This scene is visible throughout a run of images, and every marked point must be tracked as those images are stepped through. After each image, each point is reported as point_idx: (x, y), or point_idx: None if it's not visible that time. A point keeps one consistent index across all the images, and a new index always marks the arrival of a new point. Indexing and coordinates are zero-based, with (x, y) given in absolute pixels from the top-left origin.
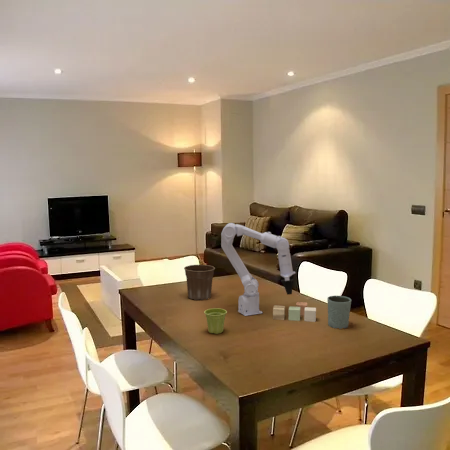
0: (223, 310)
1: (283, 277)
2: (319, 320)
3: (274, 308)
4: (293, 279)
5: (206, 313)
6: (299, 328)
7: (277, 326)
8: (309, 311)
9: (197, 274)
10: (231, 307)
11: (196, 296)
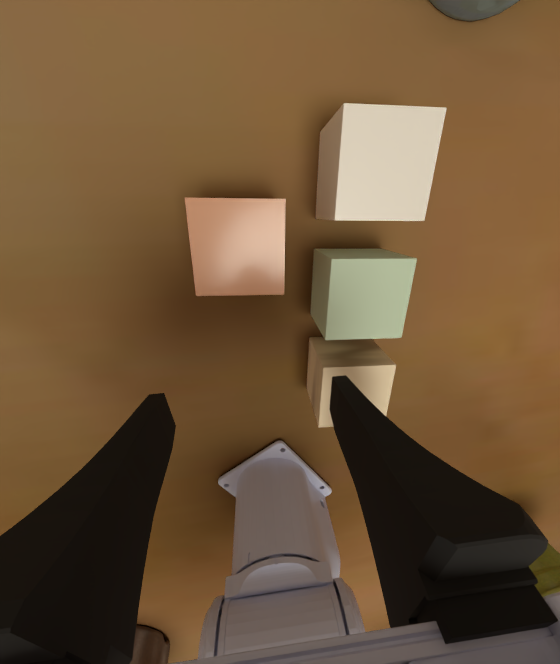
0: None
1: (127, 638)
2: (368, 100)
3: None
4: (495, 542)
5: None
6: (508, 244)
7: (465, 354)
8: (428, 175)
9: None
10: (221, 547)
11: (166, 661)
